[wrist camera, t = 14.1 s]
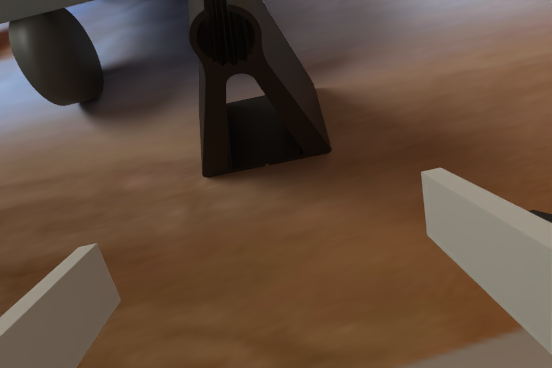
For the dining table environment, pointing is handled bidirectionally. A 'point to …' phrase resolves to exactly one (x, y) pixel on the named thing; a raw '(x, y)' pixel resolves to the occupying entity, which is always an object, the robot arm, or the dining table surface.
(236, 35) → the phone stand
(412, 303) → the dining table surface
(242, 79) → the dining table surface
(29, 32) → the trolley
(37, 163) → the dining table surface
